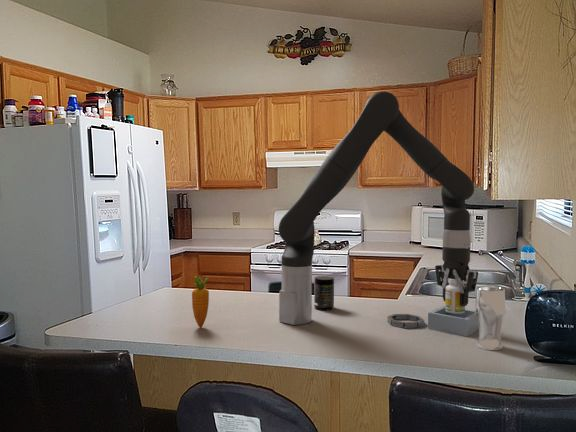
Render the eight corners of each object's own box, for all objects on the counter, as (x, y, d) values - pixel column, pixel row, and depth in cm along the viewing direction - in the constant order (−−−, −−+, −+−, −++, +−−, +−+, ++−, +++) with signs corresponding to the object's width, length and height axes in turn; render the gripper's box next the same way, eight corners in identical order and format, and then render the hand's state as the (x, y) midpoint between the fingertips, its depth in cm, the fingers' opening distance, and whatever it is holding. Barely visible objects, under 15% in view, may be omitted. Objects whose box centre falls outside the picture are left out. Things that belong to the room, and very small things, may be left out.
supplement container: (338, 309, 157) (338, 278, 157) (321, 311, 154) (321, 280, 153) (326, 305, 163) (326, 275, 163) (310, 307, 160) (310, 277, 159)
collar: (413, 330, 134) (413, 324, 134) (382, 323, 140) (382, 318, 140) (428, 322, 141) (428, 317, 141) (398, 316, 148) (398, 312, 148)
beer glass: (502, 352, 115) (503, 292, 114) (472, 347, 119) (473, 289, 118) (505, 345, 121) (507, 287, 120) (477, 340, 125) (478, 284, 124)
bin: (466, 336, 128) (467, 319, 128) (427, 328, 136) (428, 312, 135) (481, 327, 137) (481, 312, 136) (443, 320, 144) (444, 305, 144)
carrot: (212, 326, 137) (212, 275, 136) (204, 330, 132) (203, 278, 132) (197, 324, 139) (197, 274, 138) (188, 329, 134) (188, 277, 133)
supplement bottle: (466, 311, 137) (467, 278, 136) (462, 315, 132) (463, 281, 131) (447, 308, 139) (448, 276, 139) (443, 312, 135) (443, 279, 134)
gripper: (428, 243, 139) (427, 300, 140) (467, 248, 127) (466, 310, 127) (446, 242, 143) (445, 297, 144) (486, 247, 130) (484, 307, 131)
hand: (455, 303), depth 136 cm, fingers closed on supplement bottle, 5 cm apart
